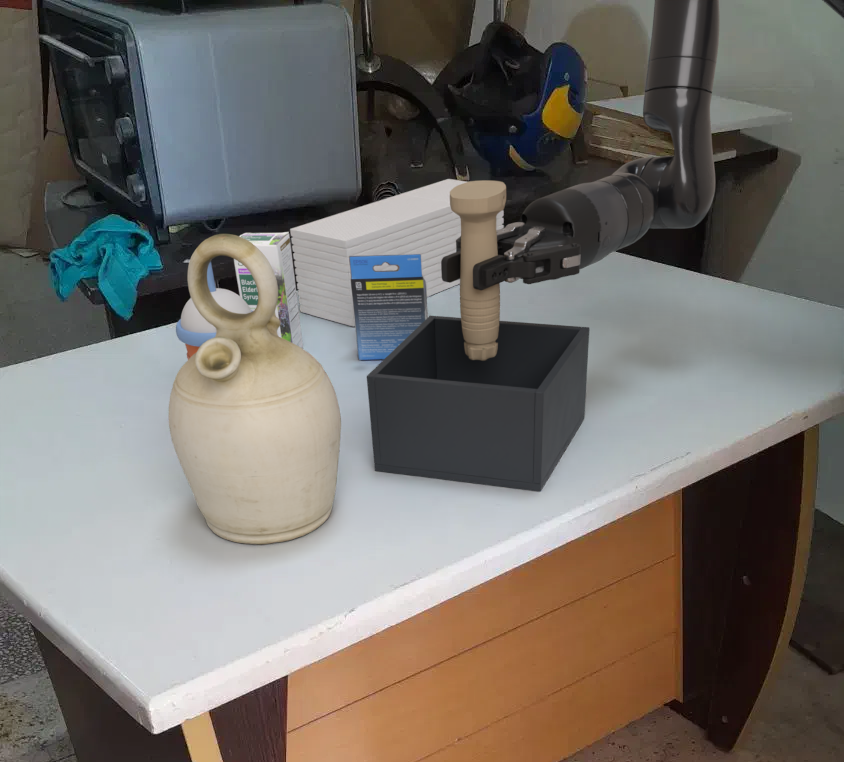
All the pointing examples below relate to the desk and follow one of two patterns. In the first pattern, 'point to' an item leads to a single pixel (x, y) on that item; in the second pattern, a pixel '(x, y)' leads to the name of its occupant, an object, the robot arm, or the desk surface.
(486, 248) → the handle
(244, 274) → the syrup box
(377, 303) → the tape cartridge
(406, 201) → the white rectangular block
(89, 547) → the desk surface
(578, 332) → the bin
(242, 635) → the desk surface
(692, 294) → the desk surface
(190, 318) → the cup with straw
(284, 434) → the jug
